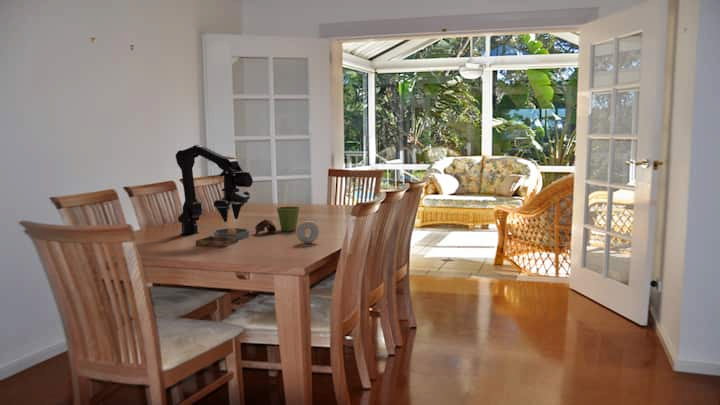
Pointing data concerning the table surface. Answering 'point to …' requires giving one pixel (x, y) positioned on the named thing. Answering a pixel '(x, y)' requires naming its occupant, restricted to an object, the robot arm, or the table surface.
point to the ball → (231, 231)
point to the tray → (216, 241)
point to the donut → (303, 227)
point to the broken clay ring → (263, 224)
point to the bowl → (239, 233)
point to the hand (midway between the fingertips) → (231, 220)
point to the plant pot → (288, 217)
